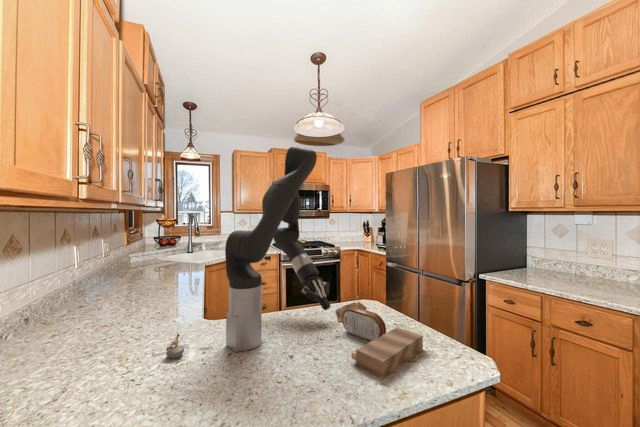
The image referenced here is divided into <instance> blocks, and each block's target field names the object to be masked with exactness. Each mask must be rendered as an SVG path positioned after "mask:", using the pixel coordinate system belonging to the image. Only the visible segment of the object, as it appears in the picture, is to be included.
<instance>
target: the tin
mask: <svg viewBox="0 0 640 427" xmlns="http://www.w3.org/2000/svg"><path fill="white" fill-rule="evenodd" d="M342 321H343V323H342V324H343V327H344V329H345V330H346V332H347V333H349V334H350V335H352V336H356V337H357V338H361V339H362V340H366V341H369V342H371V341H373V340H375V339H377V338H378V337H380V336H382V335H384V334H386V333H387V327H386V323H385V322H384V319H383V318H382V317H381V316H380V315H379V314H378V313H376V312H374V311H370V310H367V309H365V310H364V309H360V308H357V307H350V308H348V309H347V310H345V311H344V312H343V315H342Z"/></svg>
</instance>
